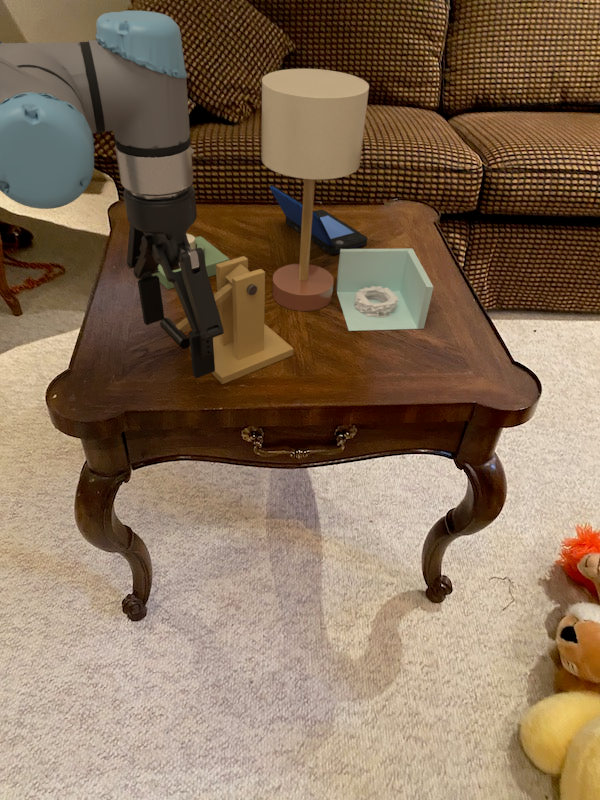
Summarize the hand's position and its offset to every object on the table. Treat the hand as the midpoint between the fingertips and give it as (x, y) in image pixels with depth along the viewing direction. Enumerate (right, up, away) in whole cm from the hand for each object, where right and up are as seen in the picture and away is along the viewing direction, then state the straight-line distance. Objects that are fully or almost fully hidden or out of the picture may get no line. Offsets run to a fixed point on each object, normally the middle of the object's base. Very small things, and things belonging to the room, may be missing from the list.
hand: (178, 346), depth 77 cm
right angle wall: (+29, +8, +19) cm, 35 cm away
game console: (+19, +24, +37) cm, 48 cm away
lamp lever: (+5, +5, 0) cm, 7 cm away
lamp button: (-4, +19, +23) cm, 30 cm away
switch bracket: (+8, 0, +8) cm, 11 cm away
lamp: (+16, +10, +21) cm, 28 cm away
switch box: (-4, +16, +25) cm, 30 cm away
